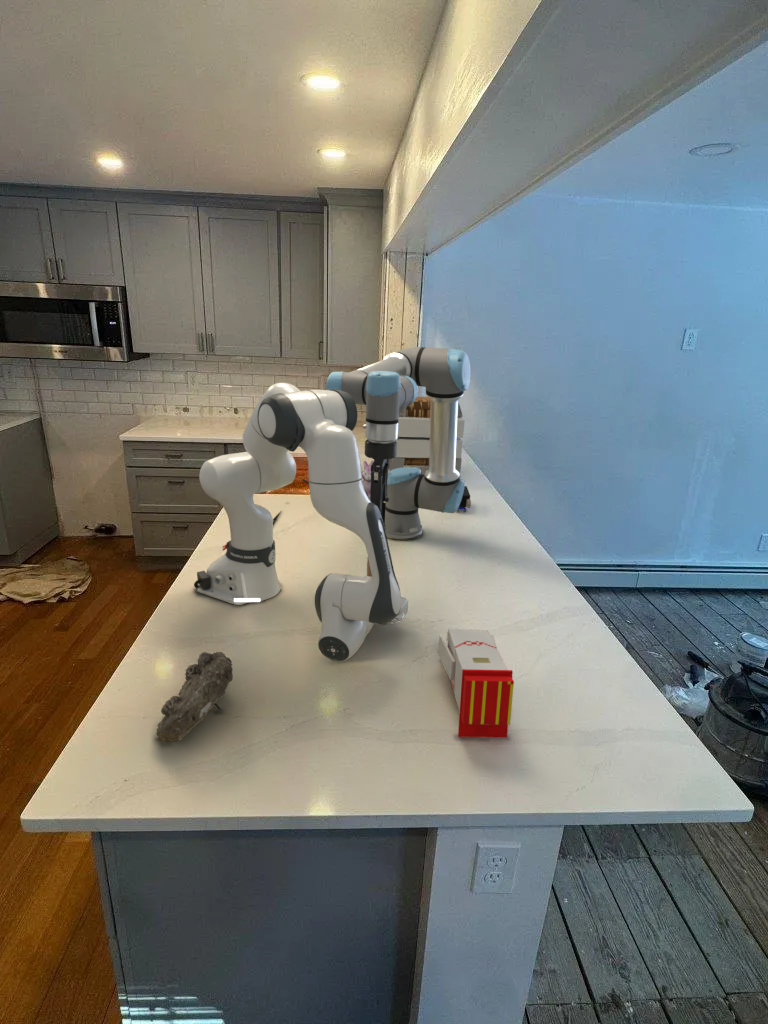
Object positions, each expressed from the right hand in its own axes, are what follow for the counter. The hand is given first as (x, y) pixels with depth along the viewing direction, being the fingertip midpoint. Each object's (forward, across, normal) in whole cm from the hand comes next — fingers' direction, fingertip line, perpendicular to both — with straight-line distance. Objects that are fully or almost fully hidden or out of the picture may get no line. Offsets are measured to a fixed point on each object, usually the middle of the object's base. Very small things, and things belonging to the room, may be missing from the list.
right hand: (377, 531), depth 140 cm
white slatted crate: (+23, -137, +2) cm, 139 cm away
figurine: (+23, -96, -16) cm, 100 cm away
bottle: (+23, 0, 0) cm, 23 cm away
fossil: (+23, +43, -28) cm, 56 cm away
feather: (+23, -65, -45) cm, 82 cm away
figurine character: (+23, -90, +22) cm, 96 cm away
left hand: (+16, -1, 0) cm, 16 cm away
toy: (+23, +28, +24) cm, 44 cm away
